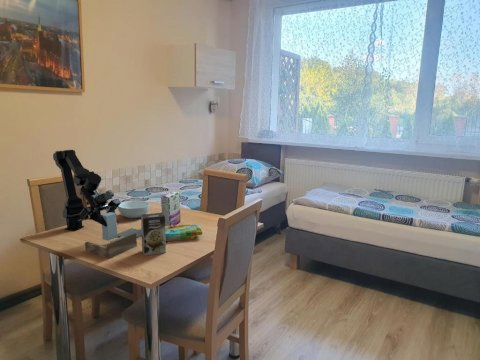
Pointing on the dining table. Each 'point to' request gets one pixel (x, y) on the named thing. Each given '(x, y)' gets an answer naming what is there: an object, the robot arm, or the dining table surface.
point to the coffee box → (153, 233)
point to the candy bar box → (171, 208)
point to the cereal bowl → (133, 208)
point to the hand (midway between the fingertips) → (111, 224)
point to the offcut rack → (113, 246)
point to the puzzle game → (182, 232)
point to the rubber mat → (130, 232)
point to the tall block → (109, 226)
